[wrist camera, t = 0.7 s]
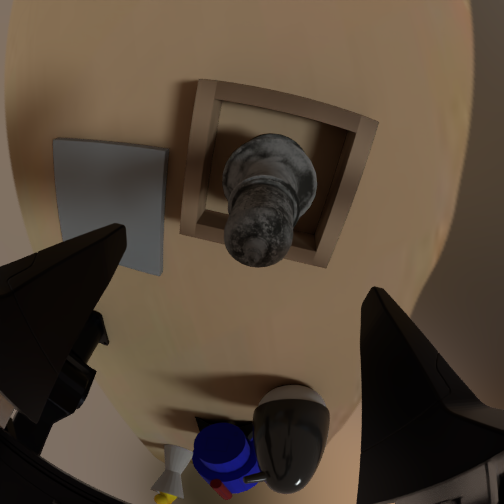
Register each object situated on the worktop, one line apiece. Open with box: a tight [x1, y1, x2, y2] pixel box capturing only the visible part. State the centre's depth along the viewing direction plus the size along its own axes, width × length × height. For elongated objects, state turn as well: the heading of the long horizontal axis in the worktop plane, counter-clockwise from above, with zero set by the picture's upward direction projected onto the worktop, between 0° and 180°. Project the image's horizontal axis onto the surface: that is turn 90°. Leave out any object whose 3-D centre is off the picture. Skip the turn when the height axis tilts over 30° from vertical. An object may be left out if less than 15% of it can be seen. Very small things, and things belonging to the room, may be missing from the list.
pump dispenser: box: [243, 385, 330, 494], centre depth 30 cm, size 10×10×15 cm
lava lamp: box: [151, 444, 193, 504], centre depth 48 cm, size 9×9×35 cm
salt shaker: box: [222, 134, 317, 267], centre depth 15 cm, size 6×6×12 cm
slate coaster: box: [53, 138, 169, 276], centre depth 23 cm, size 12×12×1 cm
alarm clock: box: [192, 417, 260, 500], centre depth 40 cm, size 12×12×15 cm
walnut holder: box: [180, 79, 379, 268], centre depth 19 cm, size 11×11×2 cm
